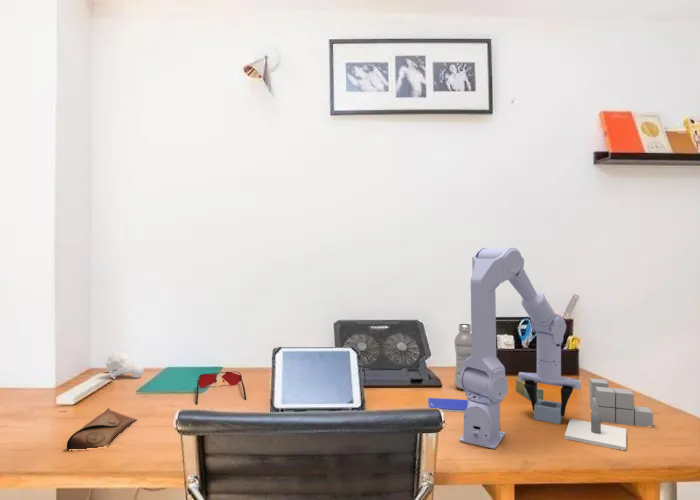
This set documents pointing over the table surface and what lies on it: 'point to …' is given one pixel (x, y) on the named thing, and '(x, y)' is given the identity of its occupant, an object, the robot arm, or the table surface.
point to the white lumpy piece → (123, 365)
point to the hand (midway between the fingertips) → (548, 412)
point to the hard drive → (448, 404)
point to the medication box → (521, 390)
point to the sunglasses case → (100, 431)
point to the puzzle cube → (617, 405)
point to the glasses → (211, 378)
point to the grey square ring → (548, 411)
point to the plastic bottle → (462, 350)
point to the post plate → (596, 433)
